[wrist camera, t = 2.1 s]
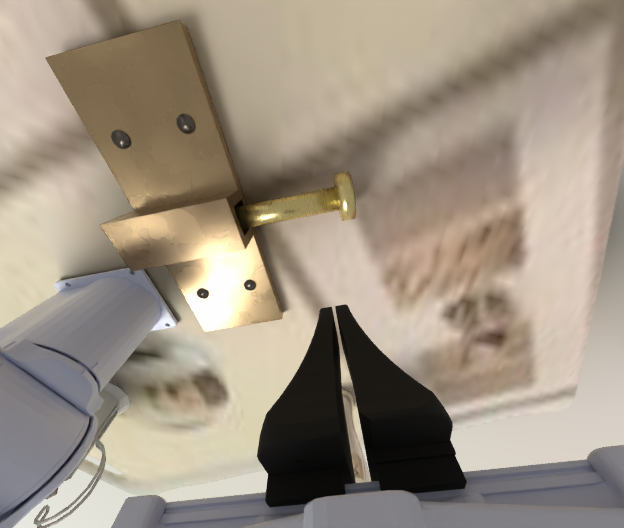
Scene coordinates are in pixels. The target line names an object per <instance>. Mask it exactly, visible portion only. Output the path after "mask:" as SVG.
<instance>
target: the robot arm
mask: <svg viewBox="0 0 624 528" xmlns="http://www.w3.org/2000/svg"><path fill="white" fill-rule="evenodd" d="M134 272H135V273H134ZM134 272H131V270H130V269H129V267H128V268H123V269H118V270H113V271H107V272H102V273H97V274H92V275H87V276H81V277H76V278H71V279H66V280H61V281H58V282H56V283H55V284H54V286H55V288H56V289H57V290H58V291H59V293H57V294H56V295H54V296H52V297H51V298H49V299H47V300H46V301H44V302H43V303H41V304H39V305H38V306H36V307H34V308H33V309H31V310H30V311H28V312H26V313H25V314H23V315H21V316H20V317H18V318H17V319H15V320H13V321H12V322H10V323H8V324H7V325H5V326H3V327H2V328H0V528H13V527H14V526H15V525H16V524H17V523H18V522H19V521H20V520H21V519H22V518H23V517H24V516H25V515H26V514H28V513H29V512H30V511H31V510H32V509H33V508H34V507H35V506H36V505H38V504H39V503H40V502H42V501H43V500H44V499H45V498H47V497H48V496H49V495H50V494H51V493H52V492H54V491H55V490H56V489H57V488H58V487H59V486H60V485H61V484H62V483H63V482H64V481H65V480H66V479H67V478H68V476H69V475H70V474H71V473H72V472H73V471H74V469H75V468H76V467H77V466H78V464H79V463H80V462H81V460H82V459H83V457H84V456H85V454H86V453H87V451H88V449H89V448H90V446H91V443H92V441H93V439H94V437H95V434H96V432H97V428H98V419H97V417H96V416H95V415H94V413H95V412H96V411H97V409H98V408H99V407H100V405H101V404H102V403H103V402H104V399H103V398H101V396H100V395H99V393H100V392H101V391H102V389H103V388H104V387H105V386H106V384H107V383H108V382H109V381H110V380H111V378H112V377H113V376H114V375H115V374H116V372H117V371H118V370H119V369H120V367H121V366H122V365H123V364H124V363H125V361H126V360H127V359H128V358H129V356H130V355H131V354H132V353H133V352H134V350H135V349H136V348H137V347H138V346H139V344H140V343H141V342H142V341H143V339H144V338H145V337H146V336H147V335H148V333H149V332H150V331H154V330H160V329H166V328H172V327H176V325H177V324H178V322H177V320H176V319H175V317H174V315H173V314H172V312H171V311H170V309H169V308H168V306H167V305H166V303H165V302H164V300H163V298H162V297H161V295H160V294H159V292H158V291H157V289H156V288H155V286H154V284H153V283H152V281H151V280H150V278H149V277H148V275H147V274H146V272H145V271H144V269H143V270H138V271H134ZM335 307H336V314H337V319H338V324H339V330H340V335H341V340H342V346H343V350H344V354H345V357H346V361H347V365H348V368H349V372H350V376H351V379H352V383H353V387H354V391H355V396H356V402H357V407H358V413H359V418H360V423H361V429H362V434H363V440H364V445H365V450H366V456H367V461H368V467H369V472H370V477H371V482H362V483H356V481H355V475H354V468H353V462H352V455H351V449H350V442H349V435H348V429H347V422H346V415H345V409H344V402H343V395H342V384H341V368H340V351H339V343H338V337H337V331H336V326H335V321H334V316H333V311H332V307H328V308H321V310H320V314H319V319H318V323H317V327H316V330H315V333H314V336H313V339H312V341H311V344H310V346H309V349H308V351H307V353H306V355H305V357H304V359H303V361H302V363H301V365H300V367H299V369H298V370H297V372H296V374H295V376H294V377H293V379H292V380H291V382H290V383H289V385H288V386H287V388H286V389H285V391H284V392H283V394H282V395H281V396H280V398H279V399H278V400H277V401H276V403H275V404H274V405H273V406H272V408H271V409H270V410H269V411H268V413H267V414H266V417H265V420H264V423H263V427H262V430H261V434H260V440H259V447H258V453H257V457H258V460H259V461H260V463H261V464H262V466H263V467H264V469H265V470H266V472H267V473H268V481H267V490H266V492H265V493H255V494H245V495H235V496H226V497H216V498H207V499H196V500H187V501H177V502H167V503H166V501H165V500H164V499H163V498H162V497H160V496H156V495H146V496H137V497H128V498H127V499H126V500H125V502H124V504H123V506H122V508H121V510H120V512H119V514H118V515H117V518H116V520H115V521H114V523H113V525H112V527H111V528H624V445H619V446H611V447H602V448H598V449H596V450H593V451H592V452H591V453H590V454H589V455H588V457H587V460H578V461H568V462H558V463H548V464H538V465H528V466H519V467H509V468H499V469H490V470H480V471H470V472H462V470H461V468H460V465H459V463H458V461H457V459H456V457H455V454H456V453H455V450H454V448H453V445H452V443H451V441H450V438H451V432H452V427H453V426H452V421H451V419H450V417H449V415H448V413H447V412H446V410H445V409H444V407H443V405H442V404H441V403H440V401H439V400H438V399H437V397H436V396H435V395H434V393H433V392H432V391H430V390H429V389H427V388H426V387H424V386H423V385H421V384H420V383H418V382H417V381H416V380H414V379H413V378H412V377H410V376H409V375H408V374H406V373H405V372H404V371H403V370H401V369H400V368H399V367H398V366H397V365H396V364H394V363H393V362H392V361H391V360H390V359H389V358H388V357H387V356H386V355H384V354H383V353H382V352H381V351H380V350H379V349H378V348H377V346H376V345H375V344H374V343H373V342H372V341H371V340H370V339H369V337H368V336H367V335H366V334H365V332H364V331H363V330H362V329H361V327H360V326H359V324H358V323H357V322H356V320H355V318H354V317H353V315H352V314H351V312H350V310H349V308H348V306H347V305H340V306H335Z"/></svg>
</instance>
